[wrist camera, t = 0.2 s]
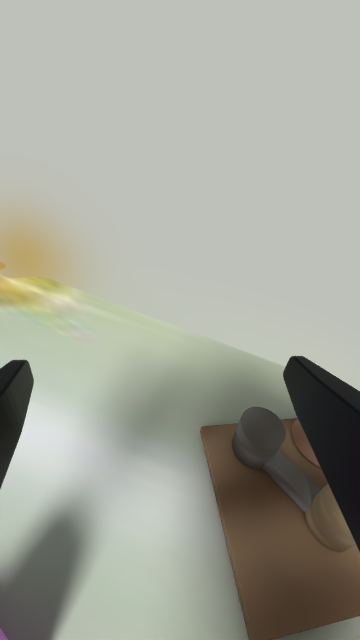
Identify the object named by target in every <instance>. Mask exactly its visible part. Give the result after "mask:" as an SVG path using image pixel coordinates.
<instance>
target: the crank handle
mask: <svg viewBox="0 0 360 640" xmlns="http://www.w3.org/2000/svg"><path fill="white" fill-rule="evenodd" d="M285 437H286V431H285V427H284V425H283V423H282V421H281V420H280V419H279V418H278V417H277V416H276V415H275V414H274V413H273V412H271V411H269V410H267V409H265V408H261V407H252V408H249V409H247V410H246V411H245V412H244V413H243V415H242V417H241V420H240V422H239V424H238V427H237V429H236V431H235V434H234V436H233V438H232V448H233V451H234V453H235V455H236V457H237V458H238V459H239V460H240V461H241V462H242V463H243V464H245V465H246V466H248V467H251V468H255V469H260V468H263V469H264V470H265V471H266V472H267V473H268V474H269V475H270V476H271V477H272V478H273V479H274V480H275V481H276V483H277V484H278V485H279V486H280V487H281V488H282V489H283V490H284V491H285V492H286V493H287V494H288V495H289V496H290V497H291V498H292V499H293V500H294V501H295V502H296V503H297V504H298V505H299V506H300V508H301V509H302V510H303V511H304V512H305V517H306V522H307V525H308V527H309V529H310V531H311V533H312V534H313V536H314V537H315V538H316V539H317V541H318V542H319V543H320V544H322V545H323V546H324V547H326V548H327V549H329V550H331V551H334V552H343V551H346V550H347V549H349V548H351V547H353V546H354V545H356V543H355V541H354V539H353V537H352V535H351V532H350V530H349V528H348V526H347V524H346V522H345V519H344V517H343V515H342V513H341V511H340V509H339V506H338V504H337V502H336V500H335V498H334V496H333V493H332V491H331V489H330V487H329V485H328V484H327V485H326V486H325V487H324V488H323V489H322V490H320V489H319V488H318V487H317V486H316V485H315V484H314V483H313V482H312V481H311V480H310V479H309V478H308V477H307V476H305V475H304V474H303V473H302V472H301V471H300V470H299V469H298V468H297V467H296V466H295V465H294V464H293V463H292V462H291V461H290V460H289V459H288V458H287V457H286V456H284V455H283V454H282V453H281V452H280V451H279V448H280V447H281V445H282V444H283V442H284V440H285Z"/></svg>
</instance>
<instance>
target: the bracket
mask: <svg viewBox="0 0 360 640" xmlns="http://www.w3.org/2000/svg"><path fill="white" fill-rule="evenodd" d="M0 640H8V639H7V637H6V636H5V634H4V633H3V631H2V629H1V628H0Z"/></svg>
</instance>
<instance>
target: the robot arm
mask: <svg viewBox="0 0 360 640" xmlns="http://www.w3.org/2000/svg"><path fill="white" fill-rule="evenodd" d="M283 377H284V381H285V384H286V386H287V389H288V392H289V395H290V398H291V401H292V404H293V407H294V410H295V412H296V415H297V417H298V420H299V422H300V424H301V426H302V428H303V431H304V433H305V435H306V437H307V439H308V441H309V444H310V446H311V448H312V450H313V452H314V454H315V457H316V459H317V461H318V463H319V465H320V467H321V470H322V472H323V474H324V476H325V478H326V480H327V483H328V485H329V487H330V489H331V491H332V493H333V496H334V498H335V500H336V502H337V504H338V506H339V509H340V511H341V513H342V515H343V517H344V519H345V522H346V524H347V526H348V528H349V530H350V532H351V535H352V537H353V539H354V541H355V543H356V545H357V548H358V550H359V552H360V391H358V390H357V389H355V388H353V387H352V386H350V385H349V384H347V383H345V382H344V381H342V380H340V379H339V378H337V377H336V376H334V375H332V374H331V373H329V372H327V371H326V370H324V369H323V368H321V367H320V366H318V365H316V364H315V363H313V362H312V361H310V360H308V359H306V358H305V357H303V356H292V357H291V358H290V359H289V361H288V363H287V365H286V367H285V370H284V372H283ZM33 383H34V379H33V375H32V372H31V368H30V365H29V362H28V361H27V360H12V361H10V362H9V363H7V364H6V365H5V366H3V367H2V368H1V369H0V488H1V486H2V483H3V480H4V478H5V475H6V472H7V470H8V467H9V464H10V462H11V459H12V456H13V454H14V451H15V448H16V446H17V443H18V441H19V438H20V435H21V432H22V428H23V425H24V421H25V417H26V413H27V409H28V405H29V401H30V397H31V393H32V388H33Z"/></svg>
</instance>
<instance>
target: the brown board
mask: <svg viewBox="0 0 360 640" xmlns="http://www.w3.org/2000/svg"><path fill="white" fill-rule="evenodd" d="M281 421H282V423H283V425H284V427H285V431H286V437H285V440H284V442H283V444H282V445H281V447H280V448H279V451H280V452H281V453H282V454H283V455H284V456H286V457H287V458H288V459H289V460H290V461H291V462H292V463H293V464H294V465H295V466H296V467H297V468H298V469H299V470H300V471H301V472H302V473H303V474H304V475H305V476H307V477H308V478H309V479H310V480H311V481H312V482H313V483H314V484H315V485H316V486H317V487H318V488H319V489H320V490H322V489H323V488H324V487H325V486H326V485H327V484H328V483H327V480H326V478H325V476H324V474H323V472H322V470H321V467H320V465H319V463H318V461H317V459H316V457H315V454H314V452H313V450H312V448H311V446H310V444H309V441H308V439H307V437H306V435H305V433H304V431H303V428H302V426H301V424H300V422H299V420H298V418H296V419H284V420H281ZM238 424H239V423H238ZM238 424H227V425H215V426H204V427H201V431H200V432H201V436H202V440H203V445H204V449H205V453H206V457H207V462H208V466H209V470H210V474H211V479H212V483H213V487H214V491H215V496H216V500H217V504H218V508H219V513H220V517H221V521H222V525H223V530H224V534H225V538H226V542H227V547H228V551H229V555H230V559H231V564H232V568H233V572H234V576H235V581H236V585H237V589H238V593H239V597H240V602H241V606H242V610H243V614H244V619H245V623H246V627H247V631H248V636H249V640H271V639H275V638H279V637H283V636H286V635H290V634H294V633H297V632H301V631H305V630H309V629H312V628H316V627H320V626H324V625H327V624H331V623H335V622H338V621H342V620H346V619H350V618H353V617H357V616H360V552H359V550H358V548H357V545H354V546H353V547H351V548H349V549H347V550H346V551H343V552H334V551H331V550H329V549H327V548H326V547H324V546H323V545H322V544H320V543H319V542H318V541H317V539H316V538H315V537H314V536H313V534H312V533H311V531H310V529H309V527H308V525H307V522H306V517H305V512H304V511H303V510H302V509H301V508H300V506H299V505H298V504H297V503H296V502H295V501H294V500H293V499H292V498H291V497H290V496H289V495H288V494H287V493H286V492H285V491H284V490H283V489H282V488H281V487H280V486H279V485H278V484H277V483H276V481H275V480H274V479H273V478H272V477H271V476H270V475H269V474H268V473H267V472H266V471H265V470H264V469H263V468H260V469H255V468H251V467H248V466H246V465H245V464H243V463H242V462H241V461H240V460H239V459H238V458H237V457H236V455H235V453H234V451H233V448H232V438H233V436H234V434H235V431H236V429H237V427H238Z"/></svg>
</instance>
